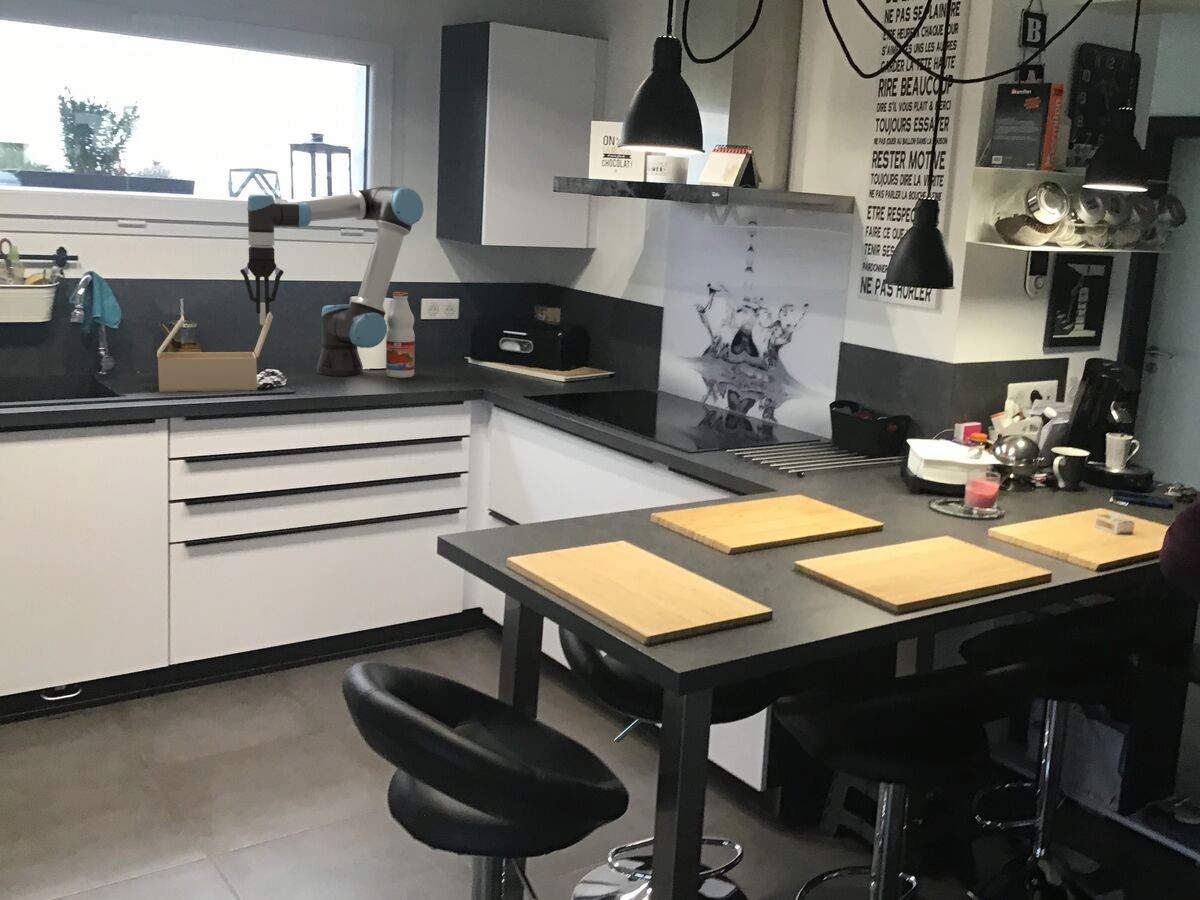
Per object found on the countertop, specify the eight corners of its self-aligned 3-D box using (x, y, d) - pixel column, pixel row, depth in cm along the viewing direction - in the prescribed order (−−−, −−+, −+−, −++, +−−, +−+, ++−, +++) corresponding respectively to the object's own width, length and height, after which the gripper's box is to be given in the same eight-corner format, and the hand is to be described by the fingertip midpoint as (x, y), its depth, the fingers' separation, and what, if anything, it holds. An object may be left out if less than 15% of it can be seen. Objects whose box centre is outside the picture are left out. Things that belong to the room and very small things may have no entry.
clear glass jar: (162, 376, 378) (160, 320, 374) (206, 376, 382) (204, 320, 378) (159, 380, 370) (157, 323, 366) (205, 380, 373) (203, 323, 369)
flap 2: (254, 351, 369) (255, 351, 369) (256, 356, 357) (258, 357, 358) (268, 311, 368) (270, 312, 368) (271, 316, 356) (273, 316, 356)
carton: (254, 383, 371) (253, 352, 369) (257, 390, 359) (256, 358, 357) (159, 385, 362) (158, 352, 360) (159, 392, 350) (157, 358, 348)
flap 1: (158, 357, 348) (156, 356, 348) (158, 351, 360) (157, 350, 359) (184, 321, 348) (182, 320, 348) (183, 316, 360) (182, 315, 360)
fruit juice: (417, 374, 402) (418, 292, 396) (409, 378, 393) (410, 294, 387) (391, 373, 403) (391, 290, 397) (382, 377, 394) (382, 292, 388)
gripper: (282, 246, 363) (283, 322, 368) (238, 245, 358) (240, 322, 363) (284, 247, 356) (285, 325, 361) (239, 246, 351) (241, 325, 356)
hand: (262, 324), depth 362 cm, fingers closed
